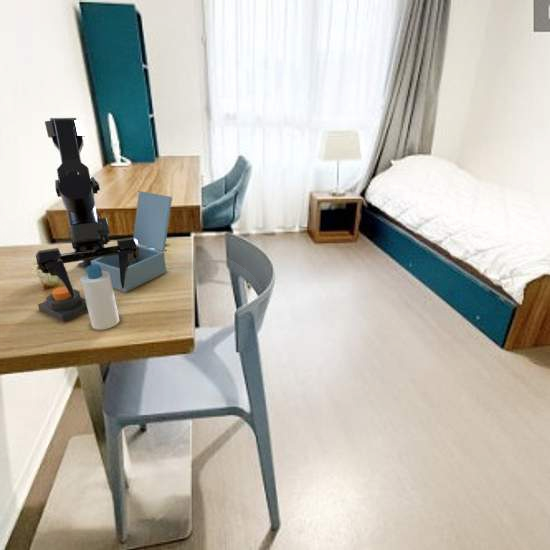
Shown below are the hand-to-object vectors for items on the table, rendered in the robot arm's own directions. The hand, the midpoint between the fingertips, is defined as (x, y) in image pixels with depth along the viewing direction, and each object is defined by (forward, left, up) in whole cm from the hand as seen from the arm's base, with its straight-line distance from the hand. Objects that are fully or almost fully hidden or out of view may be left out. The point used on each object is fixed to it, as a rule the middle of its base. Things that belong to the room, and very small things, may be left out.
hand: (98, 292), depth 74 cm
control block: (-12, -1, -7) cm, 15 cm away
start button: (-12, -1, -4) cm, 13 cm away
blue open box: (-13, +18, -7) cm, 24 cm away
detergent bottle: (0, 0, -7) cm, 8 cm away
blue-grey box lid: (-13, +27, +6) cm, 31 cm away
